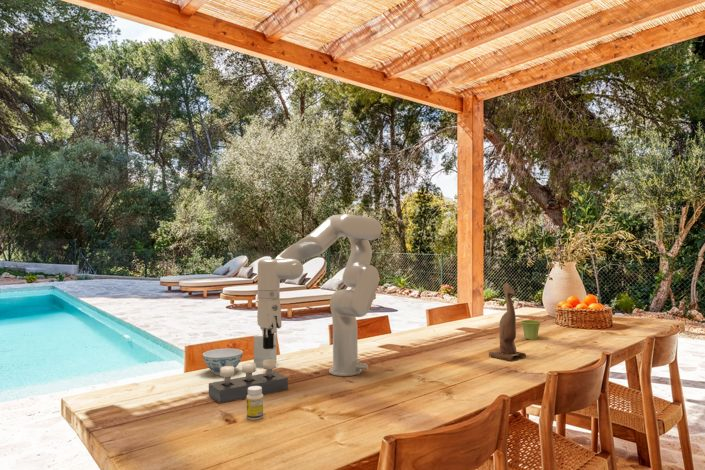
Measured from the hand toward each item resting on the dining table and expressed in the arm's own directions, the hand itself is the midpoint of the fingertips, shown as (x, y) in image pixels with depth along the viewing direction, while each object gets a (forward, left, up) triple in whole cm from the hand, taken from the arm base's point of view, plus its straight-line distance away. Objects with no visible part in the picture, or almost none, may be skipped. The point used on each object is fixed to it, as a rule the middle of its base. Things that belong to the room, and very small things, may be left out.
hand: (268, 348), depth 167 cm
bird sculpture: (-76, -71, -14) cm, 105 cm away
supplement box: (+17, -28, -14) cm, 35 cm away
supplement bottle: (-10, +25, -14) cm, 31 cm away
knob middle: (+4, +6, -10) cm, 12 cm away
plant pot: (-86, -116, -14) cm, 145 cm away
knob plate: (+4, +6, -14) cm, 15 cm away
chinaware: (+27, -13, -14) cm, 33 cm away
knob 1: (+8, +12, -10) cm, 18 cm away
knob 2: (0, 0, -10) cm, 10 cm away
